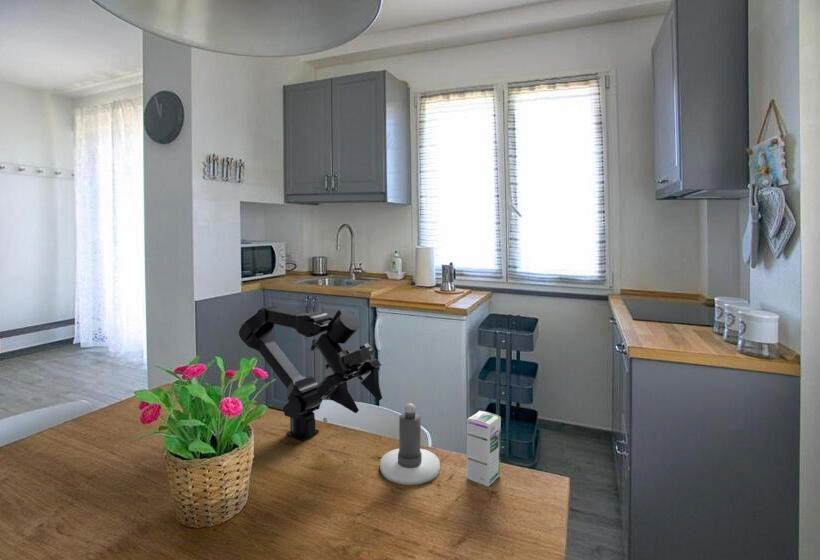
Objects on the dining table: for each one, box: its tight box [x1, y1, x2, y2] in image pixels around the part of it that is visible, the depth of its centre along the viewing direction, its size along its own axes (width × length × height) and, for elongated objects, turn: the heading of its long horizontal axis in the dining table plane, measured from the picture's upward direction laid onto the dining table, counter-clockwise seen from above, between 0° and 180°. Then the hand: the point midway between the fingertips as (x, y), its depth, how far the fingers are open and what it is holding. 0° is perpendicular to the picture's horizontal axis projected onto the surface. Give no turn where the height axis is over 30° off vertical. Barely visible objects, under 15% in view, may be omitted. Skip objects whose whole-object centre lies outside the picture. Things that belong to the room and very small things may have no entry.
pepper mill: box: [398, 402, 422, 468], centre depth 102 cm, size 6×6×14 cm
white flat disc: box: [379, 447, 441, 486], centre depth 103 cm, size 14×14×2 cm
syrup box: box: [466, 410, 502, 487], centre depth 98 cm, size 6×6×14 cm
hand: (369, 405), depth 105 cm, fingers open, 9 cm apart
